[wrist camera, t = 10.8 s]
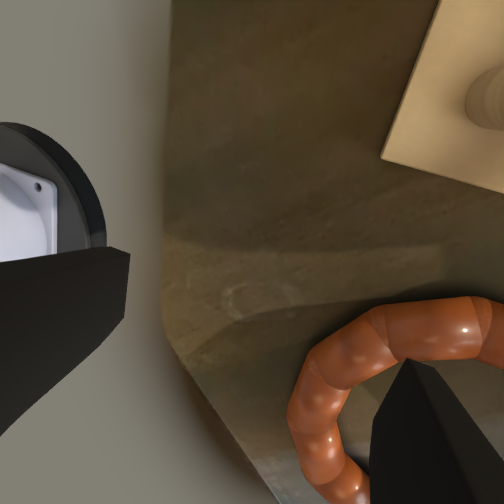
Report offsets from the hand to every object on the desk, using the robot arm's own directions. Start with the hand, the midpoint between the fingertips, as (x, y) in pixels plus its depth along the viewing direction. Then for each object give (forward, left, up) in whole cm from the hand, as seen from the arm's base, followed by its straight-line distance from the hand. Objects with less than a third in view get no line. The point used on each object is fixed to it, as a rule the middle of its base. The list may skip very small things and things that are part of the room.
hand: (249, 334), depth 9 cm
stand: (+5, +7, -9) cm, 13 cm away
